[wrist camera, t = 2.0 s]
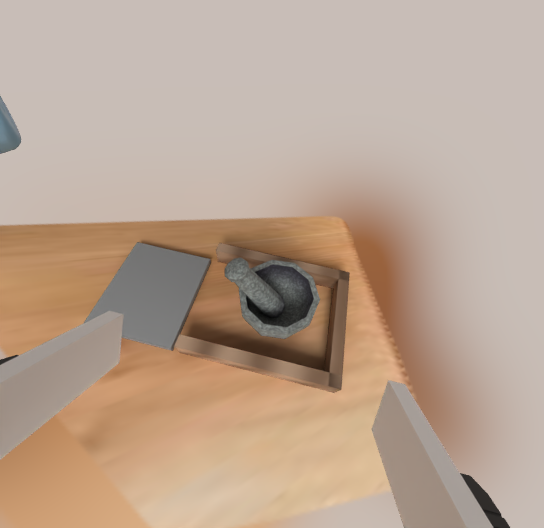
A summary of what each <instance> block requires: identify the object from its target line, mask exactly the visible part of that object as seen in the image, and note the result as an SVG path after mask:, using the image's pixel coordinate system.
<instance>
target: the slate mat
mask: <svg viewBox="0 0 544 528" xmlns="http://www.w3.org/2000/svg"><path fill="white" fill-rule="evenodd" d="M210 264H211V261H210V259H207V258H203V257H199V256H195V255H190V254H186V253H182V252H177V251H173V250H169V249H165V248H160V247H156V246H152V245H147V244H143V243H139V242H137V243H136V245H135V246H134V248H133V249H132V251H131V252H130V254H129V255H128V257H127V258H126V260H125V261H124V263H123V265H122V266H121V268H120V269H119V271H118V272H117V274H116V275H115V277H114V278H113V280H112V281H111V283H110V284H109V286H108V287H107V289H106V290H105V292H104V293H103V295H102V296H101V298H100V299H99V301H98V302H97V304H96V305H95V307H94V308H93V310H92V311H91V313H90V314H89V316H88V317H87V319H86V320H85V322H84V323H86V322H88V321H90V320H92V319H94V318H96V317H98V316H100V315H102V314H104V313H106V312H108V311H112V312H116V313H120V314H124V315H123V326H122V337H121V338H125V339H129V340H133V341H137V342H141V343H145V344H148V345H152V346H156V347H160V348H164V349H168V350H171V351H173V349H174V346H175V343H176V341H177V339H178V336H179V334H180V333H181V330H182V328H183V326H184V324H185V321H186V319H187V317H188V314H189V312H190V310H191V307H192V305H193V303H194V301H195V298H196V296H197V294H198V291H199V289H200V287H201V284H202V282H203V280H204V277H205V275H206V273H207V271H208V268H209V266H210ZM84 323H83V324H84Z"/></svg>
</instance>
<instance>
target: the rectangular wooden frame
mask: <svg viewBox="0 0 544 528" xmlns="http://www.w3.org/2000/svg"><path fill="white" fill-rule="evenodd" d="M216 253H217V259H218V262H222V263H227V264H228V263H229V262H230V261H232V260H233V259H235V258H243V259H244V260H246V261H247V262H248V264H249V268H250V269H251V268H253V267H255V266H258V265H260V264H263V263H265V262H267V261H270V260H277V261H284V262H291V263H295V264H297V265H298V266H299V267H300V268H302V269H303V270H304V271H305V272H307V273H308V274H309V275H310V276H312V277H313V279H314V282H315V284H317V285H321V286H325V287H329V288H333V293H332V302H331V312H330V321H329V330H328V339H327V349H326V358H325V367H324V371H321V370H318V369H314V368H310V367H306V366H302V365H298V364H294V363H290V362H286V361H282V360H278V359H274V358H270V357H266V356H263V355H259V354H255V353H251V352H247V351H243V350H239V349H235V348H231V347H227V346H223V345H219V344H215V343H212V342H208V341H204V340H200V339H196V338H192V337H188V336H184V335H180V334H179V336H178V339H177V341H176V343H175V346H174V347H175V348H176V349H177V350H178V351H179V352H180V353H183V354H187V355H191V356H195V357H198V358H202V359H206V360H210V361H214V362H218V363H222V364H225V365H229V366H233V367H237V368H241V369H245V370H249V371H252V372H256V373H260V374H264V375H268V376H272V377H276V378H279V379H283V380H287V381H291V382H295V383H299V384H302V385H306V386H310V387H314V388H318V389H322V390H326V391H329V392H333V393H334V392H337V391H339V390H341V387H342V373H343V358H344V344H345V330H346V316H347V302H348V287H349V272H345V271H341V270H336V269H332V268H327V267H323V266H319V265H314V264H310V263H306V262H301V261H297V260H292V259H288V258H284V257H279V256H275V255H271V254H266V253H262V252H257V251H253V250H249V249H244V248H240V247H236V246H231V245H227V244H222V243H219V245H218V247H217V249H216Z"/></svg>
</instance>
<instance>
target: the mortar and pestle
mask: <svg viewBox="0 0 544 528" xmlns="http://www.w3.org/2000/svg"><path fill="white" fill-rule="evenodd" d="M225 277H226V278H227V279H229V280H230V281H231V282H235V283H236V285H237V286H238V287H239V295H240V302H241V310H242V316H243V318H244V319H245V320H246V321H247V322H248V323H249V324H250V325H251V326H252V327H253V328H254V329H255V330H256V331H257V332H258V333H259V334H260V335H262V336H269V337H275V338H282V339H286V338H287V337H289V336H291V335H293V334H295V333H297V332H299V331H301V330H302V329H304V328H306V327H307V326H309V324H310V322H311V320H312V318H313V315H314V313H315V310H316V308H317V305H318V303H319V301H320V298H319V295H318V292H317V289H316V285H315V282H314V279H313V277H312V276H310V275H309V274H308V273H307V272H305V271H304V270H303V269H302V268H300V267H299V266H298V265H297V264H295V263H291V262H284V261H277V260H270V261H267V262H265V263H263V264H260V265H258V266H255V267H253V268H251V269H250V268H249V264H248V262H247V261H246V260H244V259H243V258H235V259H233V260H232V261H230V262H229V263H228V264H227V266H226V268H225Z"/></svg>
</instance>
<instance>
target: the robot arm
mask: <svg viewBox="0 0 544 528" xmlns="http://www.w3.org/2000/svg"><path fill="white" fill-rule="evenodd" d="M20 143H21V136H20V133H19V131H18V129H17V126H16V124H15V122H14V120H13V118H12V117H11V114H10V113H9V111H8V109H7V107H6V105H5V103H4V102H3V100H2V98H1V96H0V154H1V153H4V152H8V151H11V150H14V149H16V148H17V147H18V146H19V144H20ZM123 315H124V314H120V313H116V312H112V311H108V312H106V313H104V314H102V315H100V316H98V317H96V318H94V319H92V320H90V321H88V322H86V323H84V324H82V325H80V326H78V327H76V328H74V329H72V330H70V331H68V332H66V333H63V334H61V335H59V336H57V337H55V338H53V339H51V340H49V341H47V342H45V343H43V344H41V345H39V346H37V347H35V348H33V349H31V350H29V351H27V352H25V353H23V354H21V355H15V356H11V357H8V358H5V359H1V360H0V459H2V458H3V457H4V456H5V455H7V454H8V453H9V452H10V451H11V450H13V449H14V448H15V447H16V446H18V445H19V444H20V443H21V442H23V441H24V440H25V439H26V438H27V437H29V436H30V435H31V434H32V433H34V432H35V431H36V430H37V429H39V428H40V427H41V426H42V425H43V424H45V423H46V422H47V421H48V420H50V419H51V418H52V417H53V416H55V415H56V414H57V413H58V412H59V411H61V410H62V409H63V408H64V407H66V406H67V405H68V404H69V403H71V402H72V401H73V400H74V399H75V398H77V397H78V396H79V395H80V394H82V393H83V392H84V391H85V390H87V389H88V388H89V387H90V386H91V385H93V384H94V383H95V382H96V381H98V380H99V379H100V378H101V377H102V376H104V375H105V374H106V373H107V372H109V371H110V370H111V369H112V368H114V367H115V366H116V365H117V364H118V363H119V360H120V349H121V337H122V326H123ZM372 432H373V435H374V438H375V441H376V444H377V447H378V450H379V453H380V456H381V459H382V462H383V465H384V468H385V471H386V474H387V477H388V480H389V483H390V486H391V489H392V493H393V495H394V499H395V501H396V504H397V507H398V511H399V514H400V517H401V520H402V523H403V526H404V528H510V527H509V525H508V524H507V522H506V520H505V519H504V518H502V517H501V513H500V512H499V510H498V509H497V507H496V506H495V504H494V503H493V502H492V500H491V498H490V497H489V495H488V494H487V493H486V492H485V491H484V490H483V489H482V488H481V486H480V485H479V484H478V483H477V482H476V481H475V480H474V479H473V478H472V477H471V476H469V475H465V474H461V473H459V471H458V469H457V468H456V466H455V465H454V463H453V461H452V460H451V458H450V456H449V455H448V454H447V452H446V450H445V448H444V447H443V445H442V443H441V442H440V440H439V439H438V437H437V435H436V434H435V432H434V430H433V429H432V427H431V426H430V424H429V422H428V421H427V419H426V418H425V416H424V414H423V413H422V411H421V409H420V408H419V406H418V405H417V403H416V401H415V400H414V398H413V396H412V395H411V393H410V392H409V390H408V388H407V387H406V385H405V384H401V383H397V382H393V381H389V380H388V383H387V386H386V389H385V392H384V395H383V397H382V400H381V403H380V406H379V409H378V412H377V415H376V418H375V421H374V424H373V427H372Z"/></svg>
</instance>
